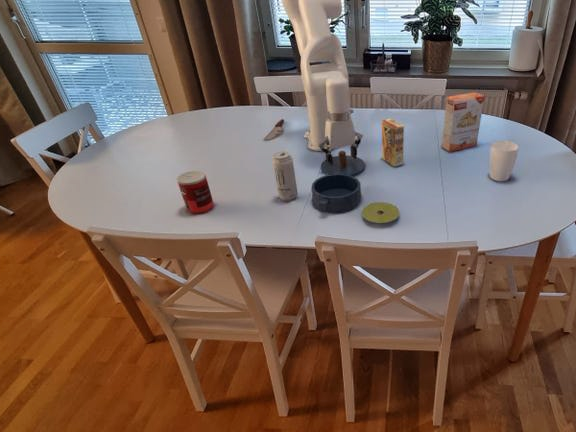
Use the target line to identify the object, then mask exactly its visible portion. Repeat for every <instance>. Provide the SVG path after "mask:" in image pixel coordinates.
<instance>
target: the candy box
mask: <svg viewBox="0 0 576 432" xmlns="http://www.w3.org/2000/svg"><path fill="white" fill-rule="evenodd" d="M404 133H405V126H404V125H403V124H401V123H399V122H397V121H396V120H394V119H392V118H388V119H384V120H383V119H382V120H381V149H382V150H381V151H382V152H381V155H382V160H384V161H385V162H387V163H388V164H390V165H391V166H392V167H394V168H396V167H399V166H403V165H404V138H405V137H404V136H405V134H404Z"/></svg>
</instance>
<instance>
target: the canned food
mask: <svg viewBox="0 0 576 432" xmlns="http://www.w3.org/2000/svg"><path fill="white" fill-rule="evenodd" d="M176 182H177V184H178V185H177V186H178V188H179V190H180V193H181V197H182V199H183V202H184V205H185V208H186V210H187V211H188V213H190V214H194V215H201V214H204V213H207V212H209V211H211V210H212V209H213V208H214V200H213V196H212V193H211V189H210V186H209V181H208V179H207V176H206V174H205V172H204V171H201V170H191V171H186V172H184V173H181V174H179V175H178V176H177V177H176Z"/></svg>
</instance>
